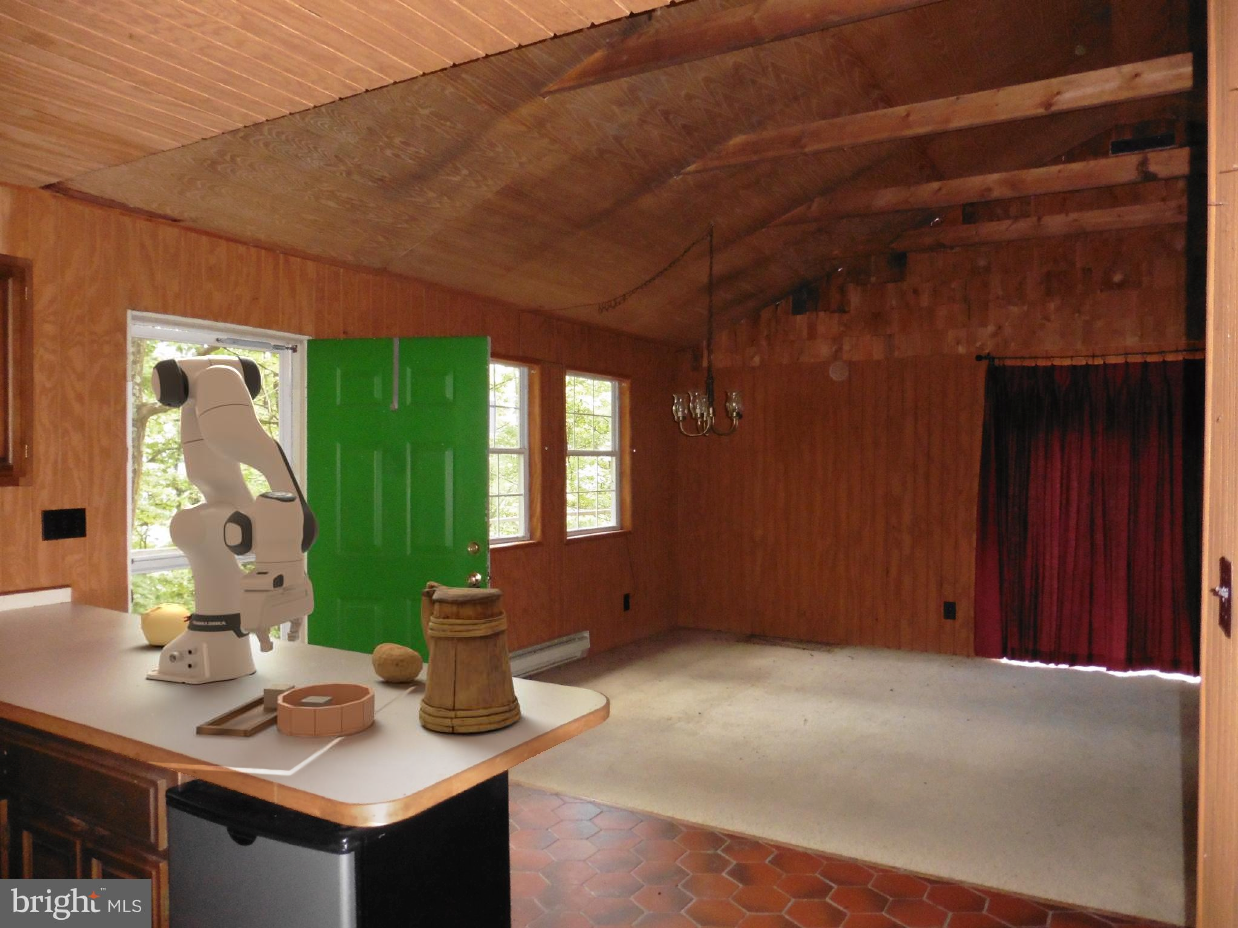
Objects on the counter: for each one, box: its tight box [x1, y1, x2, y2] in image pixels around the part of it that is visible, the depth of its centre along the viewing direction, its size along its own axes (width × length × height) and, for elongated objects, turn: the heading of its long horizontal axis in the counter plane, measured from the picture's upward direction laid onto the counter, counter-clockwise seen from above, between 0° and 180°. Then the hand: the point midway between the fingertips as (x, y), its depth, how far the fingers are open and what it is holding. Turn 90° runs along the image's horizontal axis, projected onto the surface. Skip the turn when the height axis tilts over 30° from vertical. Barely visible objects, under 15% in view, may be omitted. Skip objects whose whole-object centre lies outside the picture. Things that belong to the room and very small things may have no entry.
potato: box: [371, 642, 424, 684], centre depth 181 cm, size 10×14×8 cm
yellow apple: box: [140, 602, 192, 646], centre depth 216 cm, size 12×12×11 cm
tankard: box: [418, 581, 522, 734], centre depth 156 cm, size 18×24×25 cm
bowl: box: [276, 682, 376, 739], centre depth 151 cm, size 17×17×6 cm
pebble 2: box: [263, 683, 296, 708], centre depth 161 cm, size 4×4×4 cm
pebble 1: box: [300, 696, 332, 707], centre depth 152 cm, size 4×4×4 cm
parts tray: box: [195, 693, 277, 738], centre depth 156 cm, size 10×26×2 cm, turn 172°
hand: (280, 645), depth 161 cm, fingers open, 8 cm apart
